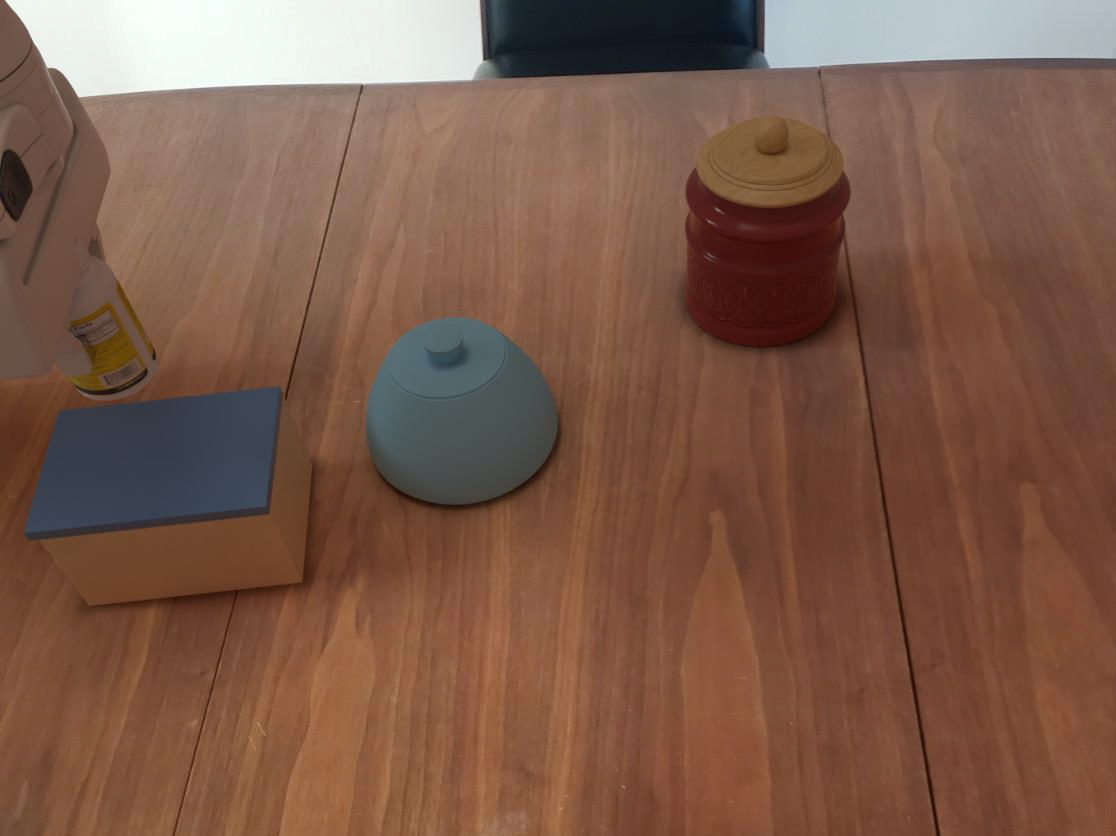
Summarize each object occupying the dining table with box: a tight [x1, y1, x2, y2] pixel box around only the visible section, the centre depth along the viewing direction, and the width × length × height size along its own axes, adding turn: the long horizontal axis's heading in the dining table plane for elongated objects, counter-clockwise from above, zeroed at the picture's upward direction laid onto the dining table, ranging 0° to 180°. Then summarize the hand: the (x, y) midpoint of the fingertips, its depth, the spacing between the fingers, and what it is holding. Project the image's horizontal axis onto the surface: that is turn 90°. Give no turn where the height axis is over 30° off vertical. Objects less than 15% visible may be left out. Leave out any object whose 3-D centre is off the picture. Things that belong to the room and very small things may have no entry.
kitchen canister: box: [684, 114, 852, 348], centre depth 88 cm, size 13×13×18 cm
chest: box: [38, 394, 313, 607], centre depth 79 cm, size 16×12×9 cm
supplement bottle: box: [67, 236, 159, 402], centre depth 65 cm, size 5×5×10 cm
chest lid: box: [23, 386, 284, 541], centre depth 75 cm, size 16×12×1 cm
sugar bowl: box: [365, 316, 559, 506], centre depth 82 cm, size 15×15×12 cm
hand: (92, 330), depth 66 cm, fingers closed on supplement bottle, 5 cm apart
